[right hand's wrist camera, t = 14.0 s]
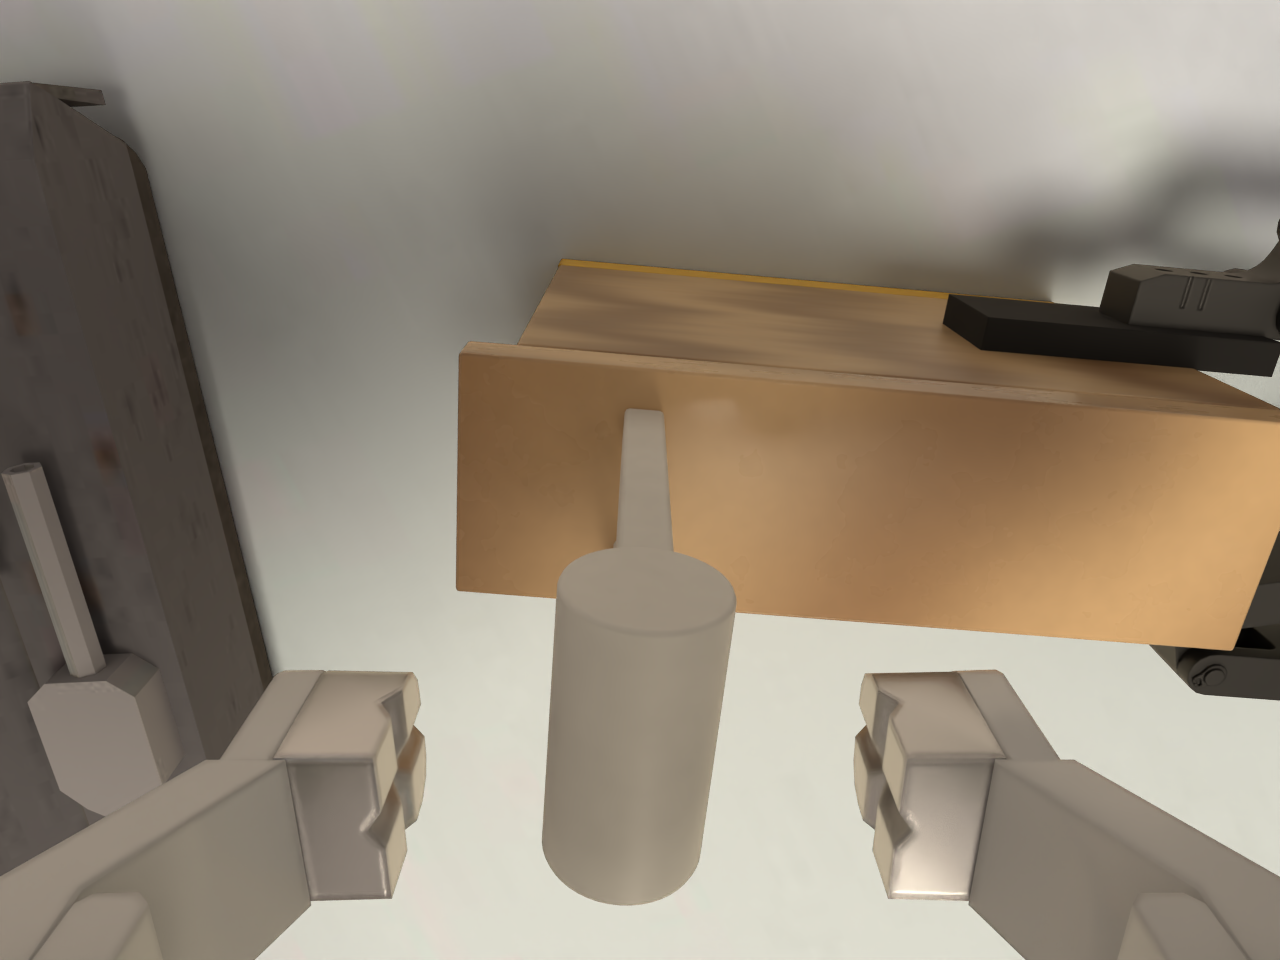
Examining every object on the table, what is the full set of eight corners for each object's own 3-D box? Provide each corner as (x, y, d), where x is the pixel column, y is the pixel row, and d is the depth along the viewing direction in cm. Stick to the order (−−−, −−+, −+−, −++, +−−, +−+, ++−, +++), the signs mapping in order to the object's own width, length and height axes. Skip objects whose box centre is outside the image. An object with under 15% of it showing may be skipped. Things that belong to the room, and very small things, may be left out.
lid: (464, 569, 18) (324, 926, 10) (467, 339, 17) (302, 554, 9) (1206, 627, 19) (1629, 1011, 11) (1287, 409, 17) (1863, 674, 9)
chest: (553, 414, 28) (506, 571, 18) (561, 258, 26) (515, 342, 17) (1014, 452, 29) (1205, 626, 19) (1052, 302, 27) (1285, 408, 17)
